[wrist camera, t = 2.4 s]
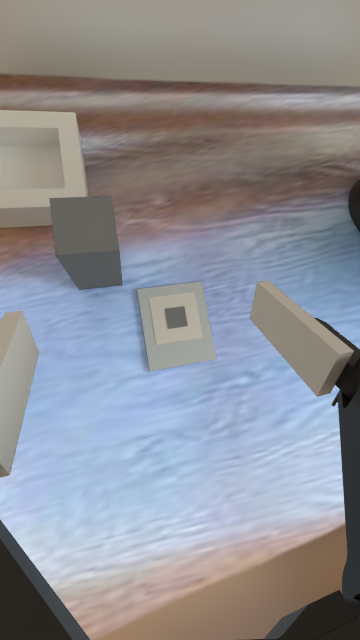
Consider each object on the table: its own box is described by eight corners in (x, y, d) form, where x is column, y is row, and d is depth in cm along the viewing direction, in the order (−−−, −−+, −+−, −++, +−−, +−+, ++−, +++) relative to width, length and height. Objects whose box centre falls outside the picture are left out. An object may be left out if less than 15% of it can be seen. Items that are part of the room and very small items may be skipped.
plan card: (201, 282, 40) (202, 281, 39) (215, 359, 38) (217, 358, 38) (136, 289, 38) (137, 288, 37) (149, 371, 36) (150, 371, 35)
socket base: (80, 139, 40) (75, 112, 35) (92, 222, 38) (87, 204, 34) (-21, 138, 37) (-41, 108, 32) (-14, 228, 35) (-35, 209, 31)
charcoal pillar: (116, 246, 38) (111, 195, 27) (122, 285, 37) (119, 250, 26) (74, 249, 37) (49, 198, 25) (79, 289, 36) (55, 255, 24)
